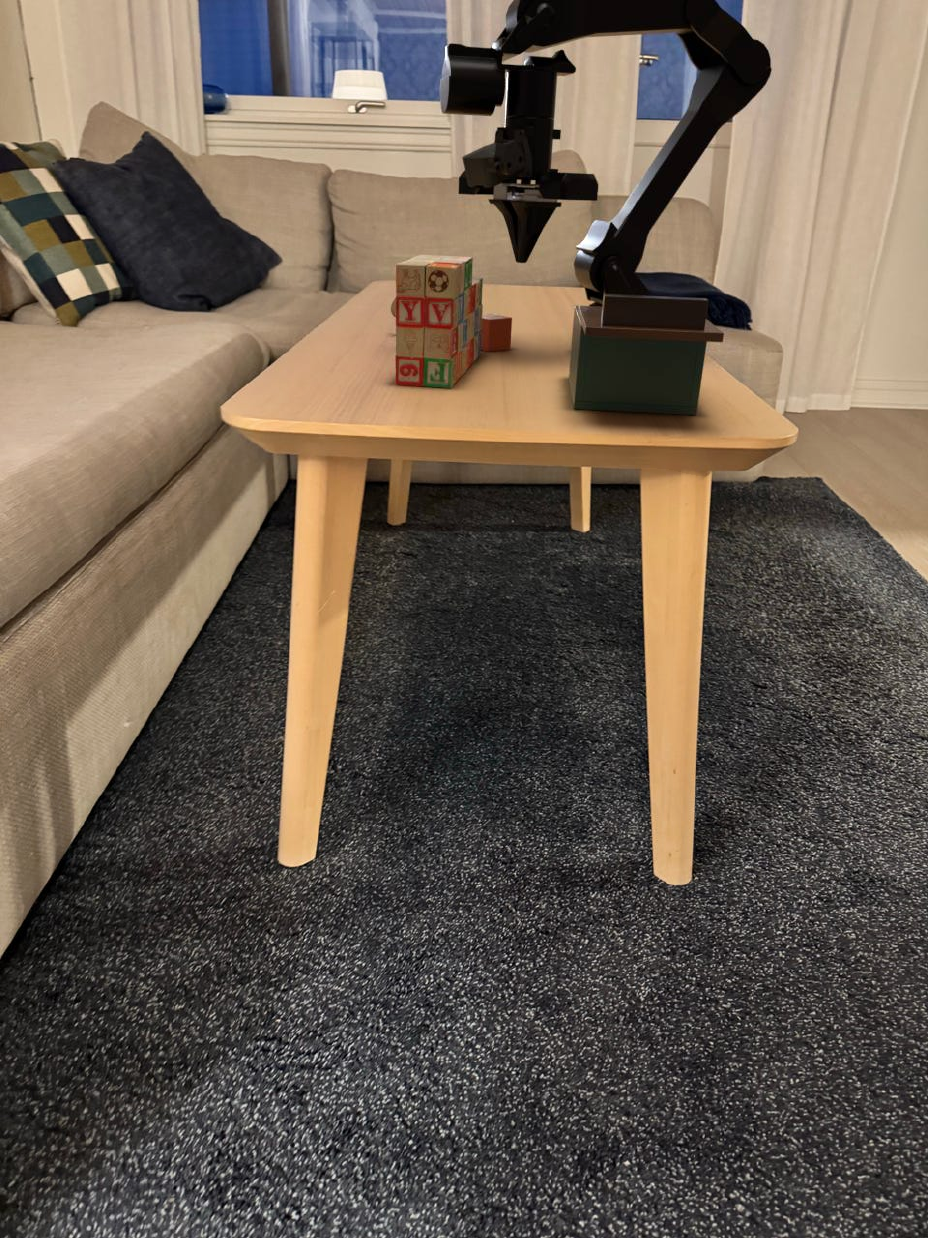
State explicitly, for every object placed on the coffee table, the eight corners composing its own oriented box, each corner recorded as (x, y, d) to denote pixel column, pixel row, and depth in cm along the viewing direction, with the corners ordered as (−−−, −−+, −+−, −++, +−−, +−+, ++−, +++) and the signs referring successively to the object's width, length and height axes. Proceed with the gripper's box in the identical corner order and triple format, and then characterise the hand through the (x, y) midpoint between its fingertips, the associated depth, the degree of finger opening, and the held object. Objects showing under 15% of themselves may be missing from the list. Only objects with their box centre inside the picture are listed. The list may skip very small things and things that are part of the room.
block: (490, 344, 123) (491, 313, 121) (510, 349, 120) (512, 317, 118) (468, 347, 120) (469, 315, 119) (488, 351, 118) (489, 319, 116)
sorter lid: (577, 313, 93) (580, 279, 92) (695, 318, 93) (700, 284, 91) (584, 335, 80) (588, 296, 78) (722, 342, 79) (728, 302, 78)
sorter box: (568, 379, 103) (574, 305, 100) (674, 384, 103) (684, 310, 99) (573, 409, 90) (581, 324, 86) (696, 415, 89) (708, 330, 86)
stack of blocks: (433, 351, 116) (435, 248, 111) (481, 354, 115) (486, 250, 110) (394, 384, 97) (395, 261, 92) (452, 388, 96) (455, 264, 91)
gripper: (425, 115, 107) (423, 257, 113) (536, 111, 94) (526, 271, 101) (495, 121, 113) (489, 255, 120) (608, 118, 101) (594, 269, 107)
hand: (521, 262), depth 112 cm, fingers closed
